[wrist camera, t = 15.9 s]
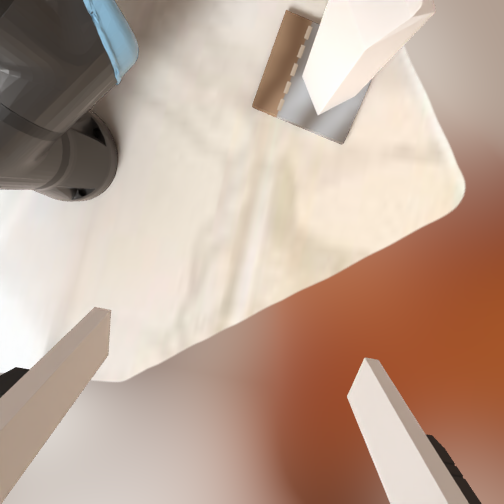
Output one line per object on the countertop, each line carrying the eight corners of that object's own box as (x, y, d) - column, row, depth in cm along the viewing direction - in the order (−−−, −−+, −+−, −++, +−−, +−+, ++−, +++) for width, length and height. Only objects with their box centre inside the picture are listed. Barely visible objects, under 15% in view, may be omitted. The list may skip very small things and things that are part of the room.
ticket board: (252, 107, 41) (252, 104, 40) (285, 15, 39) (286, 9, 37) (341, 144, 42) (343, 142, 41) (379, 56, 39) (383, 52, 38)
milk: (339, 55, 38) (441, -124, 17) (355, 97, 39) (470, -22, 18) (300, 76, 39) (350, -70, 18) (316, 117, 40) (383, 25, 19)
